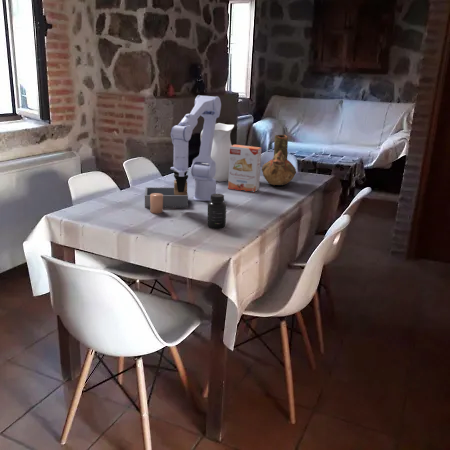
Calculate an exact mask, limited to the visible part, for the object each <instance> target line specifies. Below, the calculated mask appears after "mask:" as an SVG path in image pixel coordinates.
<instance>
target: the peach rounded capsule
mask: <svg viewBox="0 0 450 450" xmlns="http://www.w3.org/2000/svg"><path fill="white" fill-rule="evenodd" d="M149 209H150V210H149V212H150V213H151V214H162V213H164V208H163V194H161V193H152V194H150V207H149Z"/></svg>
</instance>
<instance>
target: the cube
mask: <svg viewBox="0 0 450 450" xmlns="http://www.w3.org/2000/svg"><path fill="white" fill-rule="evenodd" d="M173 188H174V195H187V193H188V181H186V184H185V189H184V192H178V188H177V182H176V179H174V180H173Z"/></svg>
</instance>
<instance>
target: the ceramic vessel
mask: <svg viewBox="0 0 450 450" xmlns="http://www.w3.org/2000/svg"><path fill="white" fill-rule="evenodd" d="M273 141H274V143H273V157H272V159H270V160H269V161H267V162H265V163H264V164H263V165H262V166H261V171H262V175H263V177H264V179H265V180H266V182H267V183H268V185H269V184H270V185H272V186H275V185H282V186H285V185H286V184H288V183H290V182H291V181H292V180H293V179H294V177H295V175H296V174H297V169H296V167H295V166H294V165H293V163H292V161H291V162H290V160H288V153H289V152H288V145H289V143H288V142H289V139H288V136H287V135H286V134H276V135H274V140H273Z"/></svg>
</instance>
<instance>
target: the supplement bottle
mask: <svg viewBox="0 0 450 450" xmlns="http://www.w3.org/2000/svg"><path fill="white" fill-rule="evenodd" d="M210 200H211V201H208V203H207V223H206V225H207V227H208V228H209V229H212V230H222V229H224V228H226V225H227V204H226V202H225V195H224V194H222V193H216V194H212V195H211V199H210Z"/></svg>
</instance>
